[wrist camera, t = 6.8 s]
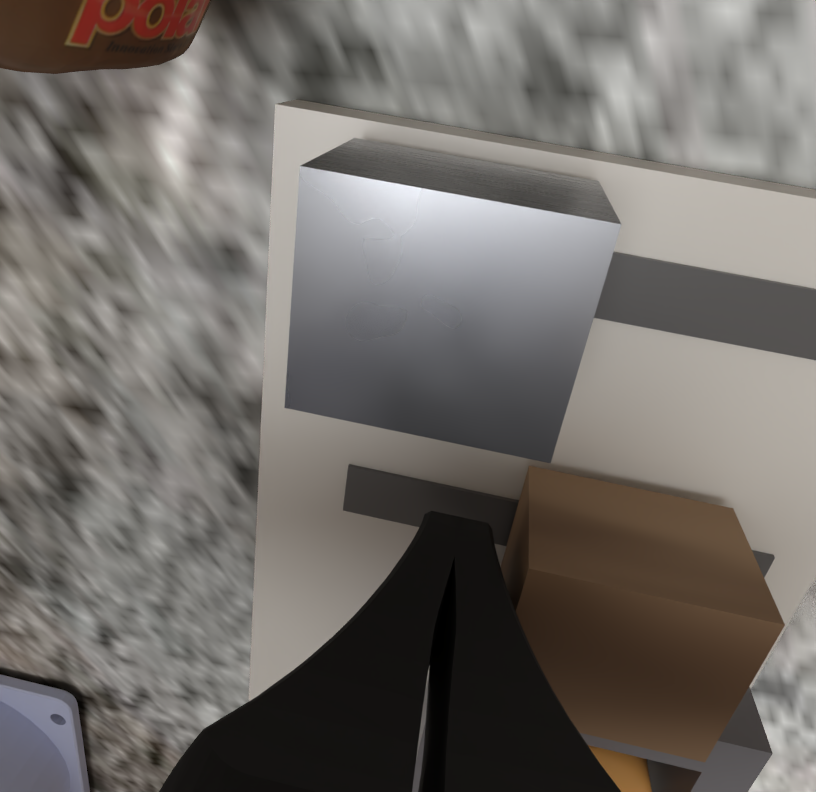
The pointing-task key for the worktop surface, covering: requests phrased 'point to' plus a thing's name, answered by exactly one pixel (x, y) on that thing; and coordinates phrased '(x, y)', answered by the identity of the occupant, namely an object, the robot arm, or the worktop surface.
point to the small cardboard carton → (638, 609)
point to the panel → (586, 412)
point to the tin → (95, 33)
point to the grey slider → (444, 294)
